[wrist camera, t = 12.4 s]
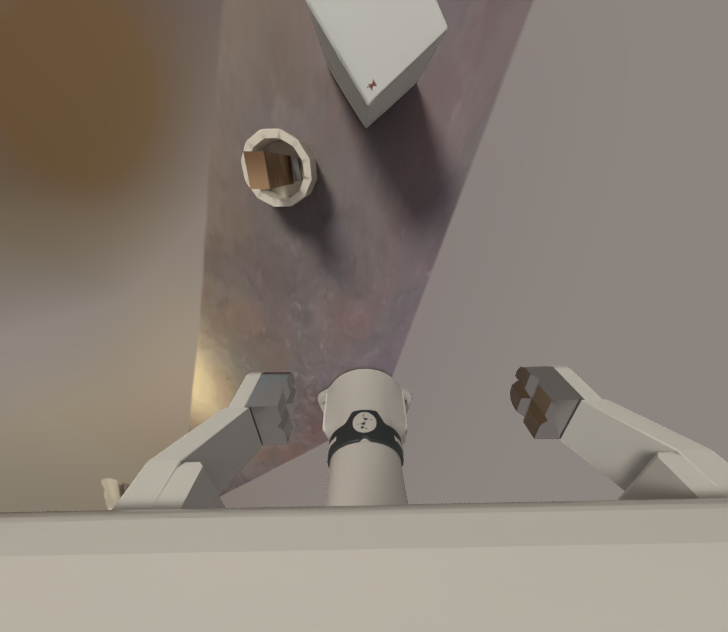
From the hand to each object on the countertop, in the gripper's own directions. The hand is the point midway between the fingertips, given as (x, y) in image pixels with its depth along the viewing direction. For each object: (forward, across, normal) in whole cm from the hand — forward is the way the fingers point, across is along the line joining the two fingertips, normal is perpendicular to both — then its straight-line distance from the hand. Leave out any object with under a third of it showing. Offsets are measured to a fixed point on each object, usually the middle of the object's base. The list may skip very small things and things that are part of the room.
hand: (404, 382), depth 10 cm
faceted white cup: (+31, +11, -7) cm, 34 cm away
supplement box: (+31, 0, -16) cm, 35 cm away
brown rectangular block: (+30, +11, -7) cm, 33 cm away
